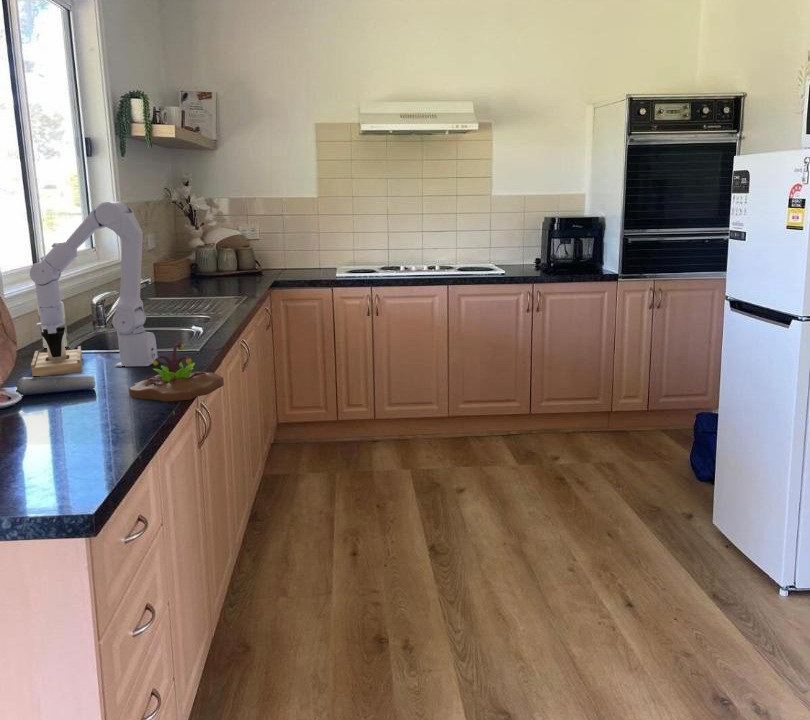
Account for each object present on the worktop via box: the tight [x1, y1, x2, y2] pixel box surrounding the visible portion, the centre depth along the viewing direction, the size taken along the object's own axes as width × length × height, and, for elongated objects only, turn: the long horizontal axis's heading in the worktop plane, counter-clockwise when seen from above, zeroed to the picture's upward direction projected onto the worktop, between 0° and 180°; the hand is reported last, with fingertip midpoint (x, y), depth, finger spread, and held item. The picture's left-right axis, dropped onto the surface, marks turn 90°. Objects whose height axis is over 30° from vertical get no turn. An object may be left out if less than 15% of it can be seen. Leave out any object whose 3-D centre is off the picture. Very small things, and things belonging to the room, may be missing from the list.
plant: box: [128, 343, 225, 402], centre depth 183 cm, size 20×20×11 cm
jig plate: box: [30, 345, 83, 377], centre depth 213 cm, size 20×12×3 cm, turn 22°
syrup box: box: [36, 301, 70, 349], centre depth 238 cm, size 6×6×14 cm
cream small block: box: [46, 339, 67, 361], centre depth 212 cm, size 5×5×6 cm
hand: (57, 354), depth 212 cm, fingers closed on cream small block, 5 cm apart
